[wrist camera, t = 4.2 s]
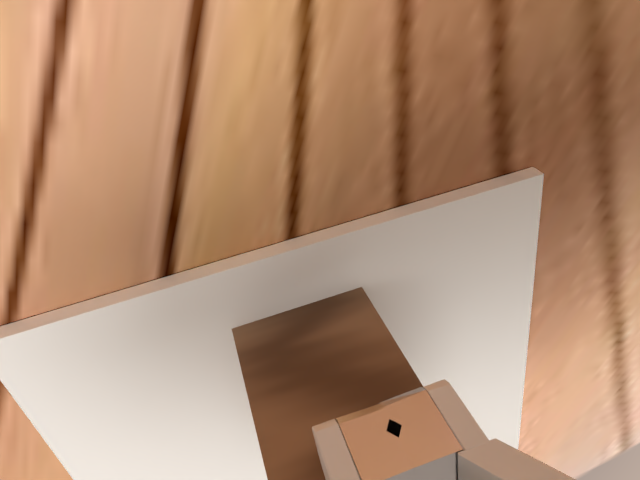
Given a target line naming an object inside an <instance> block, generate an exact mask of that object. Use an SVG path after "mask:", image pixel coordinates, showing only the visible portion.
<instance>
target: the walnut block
mask: <svg viewBox="0 0 640 480" xmlns="http://www.w3.org/2000/svg"><path fill="white" fill-rule="evenodd" d="M232 333H233V337H234V341H235V345H236V350H237V354H238V358H239V362H240V366H241V371H242V375H243V379H244V383H245V387H246V391H247V396H248V400H249V404H250V408H251V412H252V417H253V421H254V425H255V429H256V433H257V437H258V442H259V446H260V450H261V454H262V458H263V463H264V467H265V471H266V475H267V479H268V480H326V479H325V476H324V472H323V469H322V465H321V462H320V458H319V455H318V451H317V447H316V443H315V439H314V435H313V431H312V426H315V425H318V424H321V423H324V422H326V421H329V420H332V419H336V418H338V417H341V416H344V415H347V414H350V413H353V412H356V411H359V410H362V409H365V408H368V407H371V406H374V405H377V404H379V403H380V402H382V401H385V400H388V399H390V398H393V397H396V396H398V395H401V394H403V393H406V392H409V391H411V390H414V389H417V388H419V387H423V385H422V384H421V382H420V380H419V379H418V377H417V375H416V374H415V372H414V371H413V369H412V367H411V366H410V364H409V362H408V361H407V359H406V358H405V356H404V354H403V353H402V351H401V349H400V348H399V346H398V345H397V343H396V341H395V340H394V338H393V336H392V335H391V333H390V332H389V330H388V328H387V327H386V325H385V324H384V322H383V320H382V319H381V317H380V315H379V314H378V312H377V311H376V309H375V307H374V306H373V304H372V302H371V301H370V299H369V298H368V296H367V294H366V293H365V291H364V289H363V288H362V287H360V288H356V289H353V290H350V291H347V292H344V293H341V294H338V295H335V296H332V297H328V298H325V299H322V300H319V301H316V302H313V303H310V304H307V305H304V306H300V307H297V308H294V309H291V310H288V311H285V312H282V313H279V314H276V315H273V316H269V317H266V318H263V319H260V320H257V321H254V322H251V323H248V324H245V325H241V326H238V327H235V328H232Z"/></svg>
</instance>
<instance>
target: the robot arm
mask: <svg viewBox="0 0 640 480" xmlns="http://www.w3.org/2000/svg"><path fill="white" fill-rule="evenodd" d="M312 431H313V435H314V439H315V443H316V447H317V451H318V455H319V458H320V462H321V465H322V469H323V472H324V476H325V479H326V480H576V479H574V478H572V477H570V476H568V475H566V474H564V473H562V472H560V471H558V470H556V469H554V468H552V467H550V466H548V465H547V464H545V463H543V462H541V461H539V460H537V459H535V458H533V457H531V456H529V455H527V454H525V453H523V452H521V451H519V450H518V449H516V448H514V447H512V446H510V445H508V444H506V443H504V442H502V441H500V440H498V439H496V438H495V439H492V440H488V438H487V437H486V435H485V434H484V432H483V431H482V429H481V428H480V426H479V425H478V424H477V422H476V421H475V419H474V418H473V416H472V415H471V413H470V412H469V410H468V409H467V408H466V406H465V405H464V403H463V402H462V400H461V399H460V397H459V396H458V394H457V393H456V392H455V390H454V389H453V387H452V386H451V384H450V383H449V382H448V381H446V380H445V379H443V380H440V381H437V382H435V383H432V384H430V385H427V386H424V387H419V388H417V389H414V390H411V391H409V392H406V393H403V394H401V395H398V396H396V397H393V398H390V399H388V400H385V401H382V402H380V403H379V404H377V405H374V406H371V407H368V408H365V409H362V410H359V411H356V412H353V413H350V414H347V415H344V416H341V417H338V418H336V419H332V420H329V421H326V422H324V423H321V424H318V425H315V426H312Z"/></svg>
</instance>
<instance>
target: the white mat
mask: <svg viewBox="0 0 640 480" xmlns="http://www.w3.org/2000/svg"><path fill="white" fill-rule="evenodd" d="M543 180H544V173H542V172H540V171H539V170H537V169H536V168H534V167H530V168H527V169H524V170H520V171H517V172H514V173H510V174H507V175H504V176H500V177H497V178H494V179H490V180H487V181H484V182H480V183H477V184H474V185H470V186H467V187H464V188H460V189H457V190H454V191H450V192H447V193H444V194H440V195H437V196H434V197H430V198H427V199H424V200H420V201H417V202H414V203H410V204H407V205H404V206H400V207H397V208H394V209H390V210H387V211H384V212H380V213H377V214H373V215H370V216H367V217H363V218H360V219H357V220H353V221H350V222H347V223H343V224H340V225H337V226H333V227H330V228H327V229H323V230H320V231H317V232H313V233H310V234H307V235H303V236H300V237H297V238H293V239H290V240H287V241H283V242H280V243H277V244H273V245H270V246H267V247H263V248H260V249H257V250H253V251H250V252H247V253H243V254H240V255H237V256H233V257H230V258H227V259H223V260H220V261H217V262H213V263H210V264H207V265H203V266H200V267H197V268H193V269H190V270H187V271H183V272H180V273H177V274H173V275H170V276H167V277H163V278H160V279H157V280H153V281H150V282H147V283H143V284H140V285H137V286H133V287H130V288H127V289H123V290H120V291H117V292H113V293H110V294H107V295H103V296H100V297H96V298H93V299H90V300H86V301H83V302H80V303H76V304H73V305H70V306H66V307H63V308H60V309H56V310H53V311H50V312H46V313H43V314H40V315H36V316H33V317H30V318H26V319H23V320H20V321H16V322H13V323H10V324H6V325H3V326H0V380H1V382H2V383H3V384H4V386H5V387H6V389H7V390H8V391H9V393H10V394H11V395H12V397H13V398H14V399H15V401H16V402H17V403H18V405H19V406H20V408H21V409H22V410H23V412H24V413H25V414H26V416H27V417H28V418H29V420H30V421H31V423H32V424H33V425H34V427H35V428H36V429H37V431H38V432H39V433H40V435H41V436H42V438H43V439H44V440H45V442H46V443H47V444H48V446H49V447H50V448H51V450H52V451H53V453H54V454H55V455H56V457H57V458H58V459H59V461H60V462H61V463H62V465H63V466H64V468H65V469H66V470H67V472H68V473H69V474H70V476H71V477H72V478H73V480H268V479H267V475H266V471H265V467H264V463H263V458H262V454H261V450H260V446H259V442H258V437H257V433H256V429H255V425H254V421H253V417H252V412H251V408H250V404H249V400H248V396H247V391H246V387H245V383H244V379H243V375H242V371H241V366H240V362H239V358H238V354H237V350H236V345H235V341H234V337H233V333H232V328H235V327H238V326H241V325H245V324H248V323H251V322H254V321H257V320H260V319H263V318H266V317H269V316H273V315H276V314H279V313H282V312H285V311H288V310H291V309H294V308H297V307H300V306H304V305H307V304H310V303H313V302H316V301H319V300H322V299H325V298H328V297H332V296H335V295H338V294H341V293H344V292H347V291H350V290H353V289H356V288H360V287H362V288H363V289H364V291H365V293H366V294H367V296H368V298H369V299H370V301H371V302H372V304H373V306H374V307H375V309H376V311H377V312H378V314H379V315H380V317H381V319H382V320H383V322H384V324H385V325H386V327H387V328H388V330H389V332H390V333H391V335H392V336H393V338H394V340H395V341H396V343H397V345H398V346H399V348H400V349H401V351H402V353H403V354H404V356H405V358H406V359H407V361H408V362H409V364H410V366H411V367H412V369H413V371H414V372H415V374H416V375H417V377H418V379H419V380H420V382H421V384H422V385H423V387H424V386H427V385H430V384H432V383H435V382H437V381H440V380H443V379H445V380H446V381H448V382H449V383H450V384H451V386H452V387H453V389H454V390H455V392H456V393H457V394H458V396H459V397H460V399H461V400H462V402H463V403H464V405H465V406H466V408H467V409H468V410H469V412H470V413H471V415H472V416H473V418H474V419H475V421H476V422H477V424H478V425H479V426H480V428H481V429H482V431H483V432H484V434H485V435H486V437H487V438H488V440H492V439H495V438H496V439H498V440H500V441H502V442H504V443H506V444H508V445H510V446H512V447H514V448H516V449H518V445H519V435H520V424H521V413H522V403H523V392H524V381H525V371H526V360H527V350H528V339H529V328H530V318H531V307H532V297H533V286H534V275H535V265H536V254H537V244H538V233H539V222H540V212H541V201H542V190H543Z"/></svg>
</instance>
